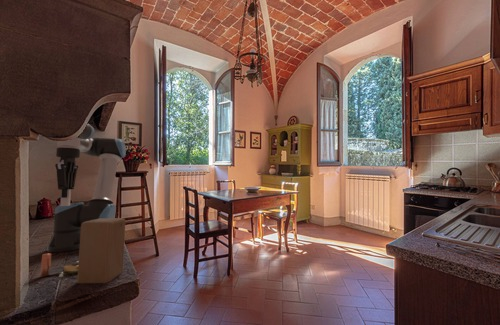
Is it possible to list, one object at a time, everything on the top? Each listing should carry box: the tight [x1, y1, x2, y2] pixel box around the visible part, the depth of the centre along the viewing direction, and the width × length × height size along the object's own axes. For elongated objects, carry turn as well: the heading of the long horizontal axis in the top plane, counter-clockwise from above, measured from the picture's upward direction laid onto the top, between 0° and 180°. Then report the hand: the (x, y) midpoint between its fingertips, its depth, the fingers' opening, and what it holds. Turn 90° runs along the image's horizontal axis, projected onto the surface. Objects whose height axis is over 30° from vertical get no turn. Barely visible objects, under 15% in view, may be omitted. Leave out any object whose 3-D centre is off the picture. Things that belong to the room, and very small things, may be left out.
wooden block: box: [76, 217, 126, 284], centre depth 78 cm, size 10×10×20 cm
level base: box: [56, 271, 78, 279], centre depth 82 cm, size 9×9×2 cm
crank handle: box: [39, 252, 79, 278], centre depth 81 cm, size 13×7×7 cm, turn 121°
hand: (65, 205), depth 92 cm, fingers closed
